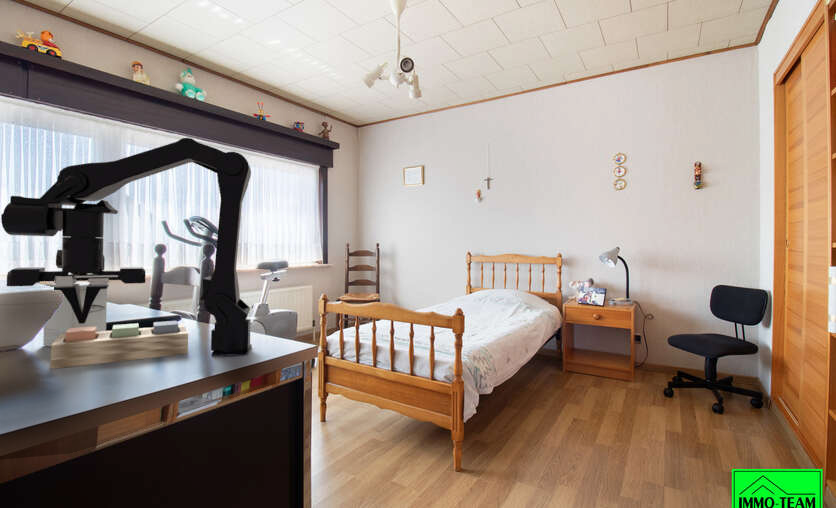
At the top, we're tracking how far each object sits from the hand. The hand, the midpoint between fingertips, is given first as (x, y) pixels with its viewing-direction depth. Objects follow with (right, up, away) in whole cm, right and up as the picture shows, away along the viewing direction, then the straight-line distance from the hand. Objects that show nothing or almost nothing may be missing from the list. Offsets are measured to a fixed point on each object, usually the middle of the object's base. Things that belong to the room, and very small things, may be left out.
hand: (82, 323), depth 73 cm
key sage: (+5, -4, +4) cm, 7 cm away
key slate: (+10, -4, +7) cm, 13 cm away
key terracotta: (0, -4, 0) cm, 4 cm away
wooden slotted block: (+5, -7, +4) cm, 9 cm away
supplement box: (-10, -6, +11) cm, 16 cm away
